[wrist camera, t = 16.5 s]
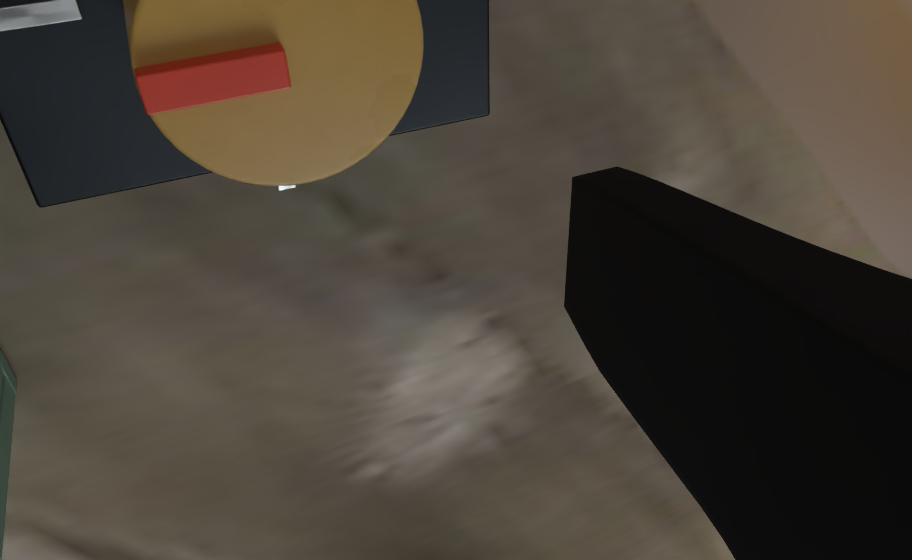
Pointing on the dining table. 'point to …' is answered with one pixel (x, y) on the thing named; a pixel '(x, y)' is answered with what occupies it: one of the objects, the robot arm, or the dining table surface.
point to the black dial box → (122, 111)
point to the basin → (5, 434)
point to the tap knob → (275, 80)
